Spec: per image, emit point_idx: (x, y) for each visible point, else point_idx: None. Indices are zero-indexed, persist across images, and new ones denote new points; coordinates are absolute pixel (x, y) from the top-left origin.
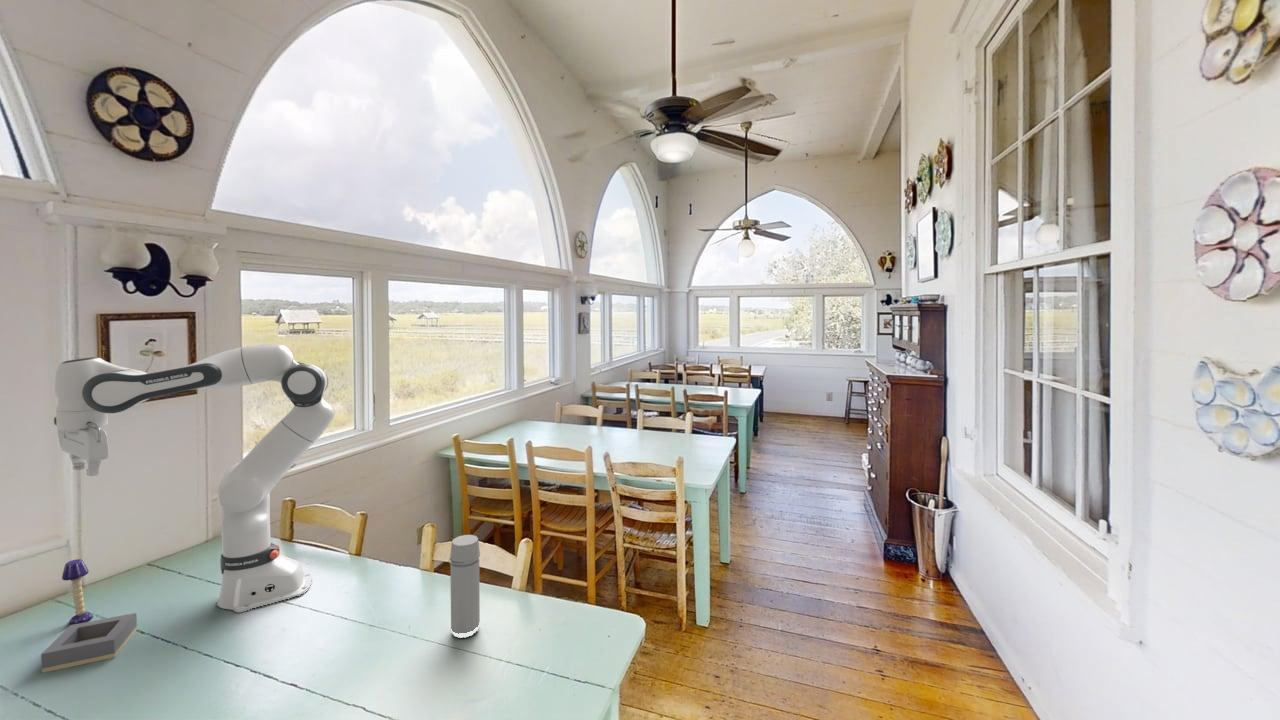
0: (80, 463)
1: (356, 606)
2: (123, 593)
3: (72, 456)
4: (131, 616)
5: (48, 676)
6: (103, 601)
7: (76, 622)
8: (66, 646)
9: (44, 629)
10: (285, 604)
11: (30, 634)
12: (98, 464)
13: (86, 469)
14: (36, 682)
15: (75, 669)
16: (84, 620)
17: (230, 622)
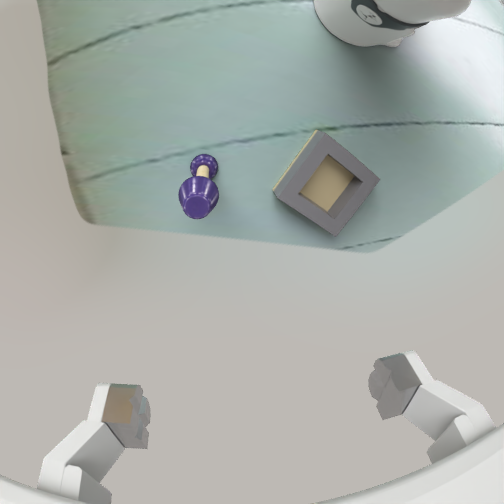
0: (134, 432)
1: (481, 7)
2: (144, 105)
3: (108, 493)
4: (332, 141)
5: None
6: (151, 132)
7: (214, 174)
8: (343, 216)
9: None
10: None
11: None
12: (461, 400)
13: (382, 417)
14: (342, 232)
15: None
16: (216, 166)
17: (409, 66)
